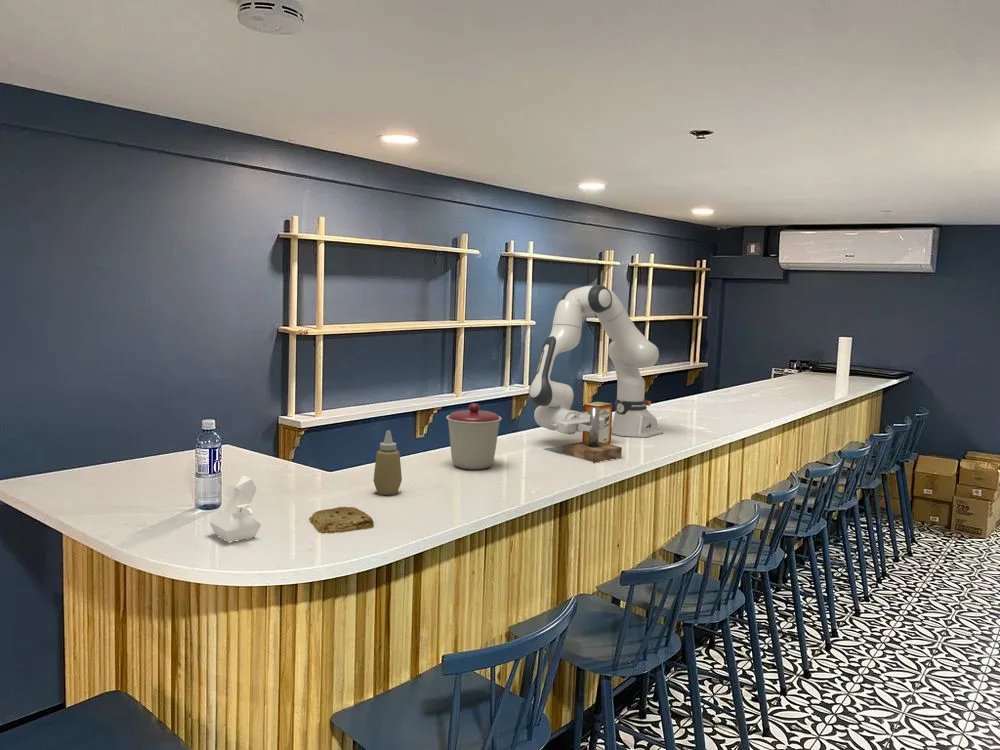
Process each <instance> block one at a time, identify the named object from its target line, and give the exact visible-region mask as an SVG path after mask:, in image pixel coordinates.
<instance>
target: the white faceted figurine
mask: <svg viewBox="0 0 1000 750" xmlns="http://www.w3.org/2000/svg"><path fill="white" fill-rule="evenodd" d="M256 491H257V487H256V485H255V483H254V481H253V479H252V478H251V477H248V476H246V475H243V476H242V477H241V478H240V480H239V481H238V483H237V484H236V486H233V485H231V484H228V486H227V488H226V491H225V494H224V496H225V497H226V498H229V499H228V501H227V503H226V505H225V506H224V509H223V510H222V511H220V512H219V513H218V514H217V515H216V516H214V517H213V518H212V519H210V520H209V521H208V522H209V524H210V527H211V528H212V530H213V532H214V534H216V535H218V536H220V537H221V538H223V539H225V540H227V541H229V542H230V541H235V540H242V539H247V538H251V539H254V538H253V537H255V538H256V536H257V534H258V533H259V530H260V528H261V526H262V524H261V523H260V522H259V521H257V519H255V517H253V514H254V512H253V510H252V509H251V508H250V505H251V502H252V500H253V499H254V497H255V495H256ZM216 535H215V536H216ZM218 536H217V537H218ZM221 538H220V539H221ZM223 539H222V540H223ZM225 540H224V541H225ZM247 540H248V539H247ZM242 541H243V540H242Z"/></svg>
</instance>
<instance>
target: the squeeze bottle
mask: <svg viewBox="0 0 1000 750" xmlns="http://www.w3.org/2000/svg"><path fill="white" fill-rule="evenodd" d="M374 465H375V466H374V473H373V484H374V487H375V490H376V493H377V494H378V495H383V496H389V495H392V496H393V495H396V494H398V493H399V489H400V487H401V484H402V481H403V477H402V476H403V475H402V466H401V465H402V464H401V454H400V451H399V450H397V443H396V442H393V436H392V432H391V430H386V431H385V436H384V439H383V442H380V443H379V450H378V451H377V452H376V456H375V463H374Z"/></svg>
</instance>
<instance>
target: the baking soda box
mask: <svg viewBox="0 0 1000 750" xmlns="http://www.w3.org/2000/svg"><path fill="white" fill-rule="evenodd" d="M591 407H598V408H600V412H599V417H601V418H604V419H605V427H604V429H601V430H599V432H598V442H602V443H606V444H610V443H612V433H611V431H612V430H611V428H612V427H613V423H612V422H613V421H612V420H613V403H608V402H603V401H594V402H589V403H584V404H583V412H588V414H590V409H591ZM586 441H589V431H582V441H581V442H586ZM610 445H611V444H610Z"/></svg>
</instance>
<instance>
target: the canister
mask: <svg viewBox="0 0 1000 750" xmlns="http://www.w3.org/2000/svg"><path fill="white" fill-rule="evenodd" d="M480 407H481V406H480V405H479V404H478V403H476V402H475V403H470V404H469V405H468V409H464V410H457V411H453V412H451V413H450V414H448V415H447V416H445V417H446V419H447V421H448V433H449V443H450V454H451V459H452V463H453V465H454V466H455V467H457V468H459V469H462V470H471V471H473V470H474V471H475V470H478V471H479V470H484V469H487V468H490V467H491V466H492V465H493V463H494V460H495V455H496V449H497V448H496V447H497V442H498V435H499V429H500V428H499V427H500V422H501V421H502V416H500V415H498V414H497V413H495V412H492V411H490V410H489V411H488V410H481V408H480Z"/></svg>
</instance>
